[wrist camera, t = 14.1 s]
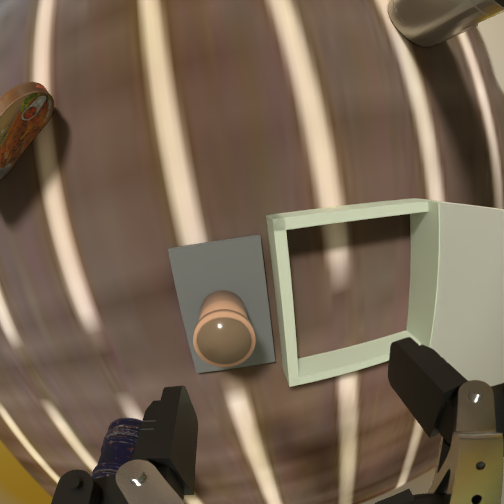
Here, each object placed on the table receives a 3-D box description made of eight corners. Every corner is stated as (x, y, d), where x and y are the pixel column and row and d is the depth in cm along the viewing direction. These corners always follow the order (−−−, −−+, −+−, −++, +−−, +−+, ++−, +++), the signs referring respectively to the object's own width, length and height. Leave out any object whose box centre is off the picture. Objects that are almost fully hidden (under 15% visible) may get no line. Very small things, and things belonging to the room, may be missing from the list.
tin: (-3, 189, 28) (-44, 193, 19) (-12, 173, 27) (-51, 174, 19) (66, 103, 27) (30, 86, 19) (56, 88, 26) (20, 69, 18)
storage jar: (167, 460, 39) (160, 530, 25) (112, 449, 38) (93, 514, 23) (167, 423, 37) (155, 503, 23) (104, 411, 36) (76, 483, 22)
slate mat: (259, 234, 33) (260, 235, 32) (274, 358, 36) (275, 361, 36) (169, 248, 32) (168, 249, 31) (196, 369, 36) (196, 373, 35)
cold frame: (430, 197, 34) (568, 220, 13) (424, 330, 39) (520, 408, 18) (266, 215, 32) (352, 270, 11) (283, 369, 37) (334, 508, 16)
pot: (244, 284, 33) (251, 309, 26) (251, 330, 34) (259, 362, 27) (193, 291, 33) (187, 318, 26) (202, 337, 34) (199, 370, 27)
